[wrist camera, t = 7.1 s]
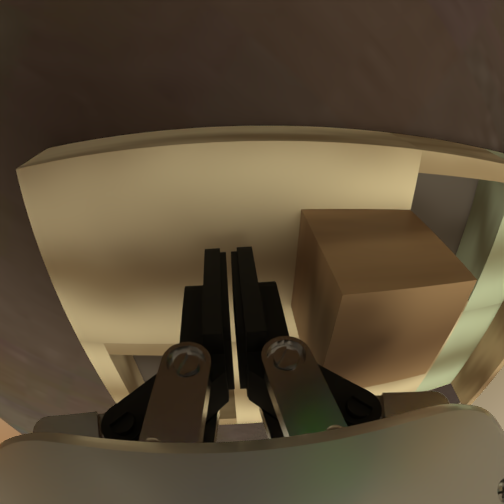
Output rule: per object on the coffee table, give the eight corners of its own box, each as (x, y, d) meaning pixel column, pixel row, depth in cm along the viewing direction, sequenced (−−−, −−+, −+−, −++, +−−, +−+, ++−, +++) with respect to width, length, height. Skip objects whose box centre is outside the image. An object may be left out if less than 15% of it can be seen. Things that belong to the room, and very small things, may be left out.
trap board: (47, 148, 12) (-27, 201, 7) (528, 160, 14) (588, 199, 9) (133, 392, 23) (125, 455, 18) (445, 357, 25) (470, 404, 20)
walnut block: (301, 209, 12) (343, 294, 8) (410, 209, 12) (477, 279, 8) (290, 305, 15) (313, 395, 11) (384, 297, 15) (425, 373, 11)
